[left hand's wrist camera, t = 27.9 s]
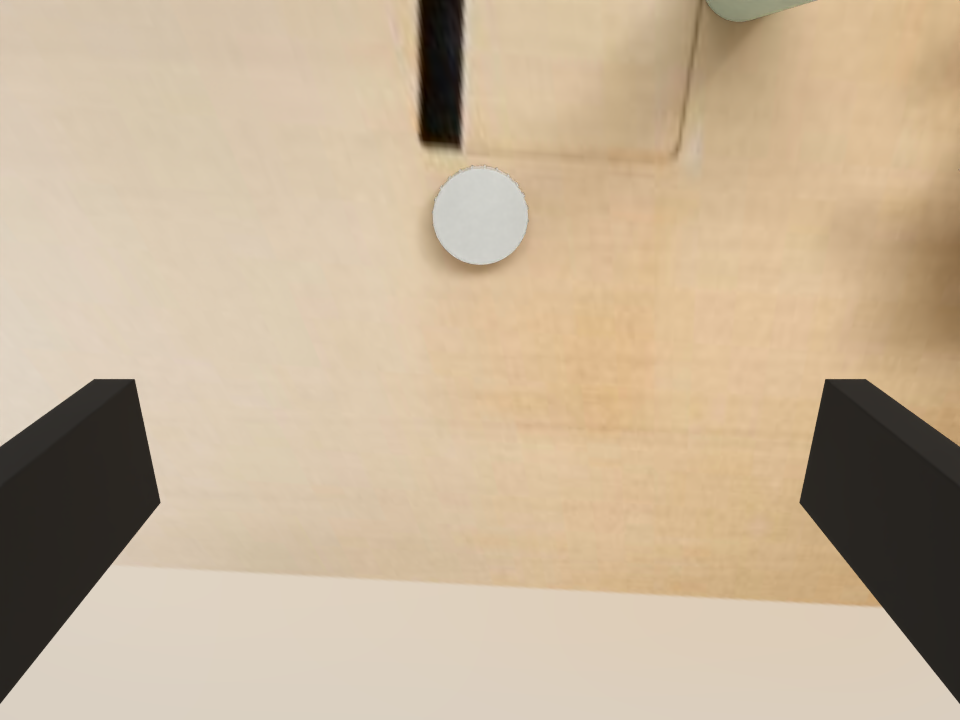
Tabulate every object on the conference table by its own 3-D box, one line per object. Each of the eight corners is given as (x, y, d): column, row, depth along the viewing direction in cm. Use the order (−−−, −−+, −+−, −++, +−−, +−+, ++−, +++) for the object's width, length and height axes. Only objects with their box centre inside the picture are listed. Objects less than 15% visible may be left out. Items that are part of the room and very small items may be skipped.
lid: (546, 210, 40) (549, 215, 38) (482, 277, 42) (483, 285, 40) (477, 143, 39) (477, 145, 37) (414, 215, 40) (411, 221, 39)
